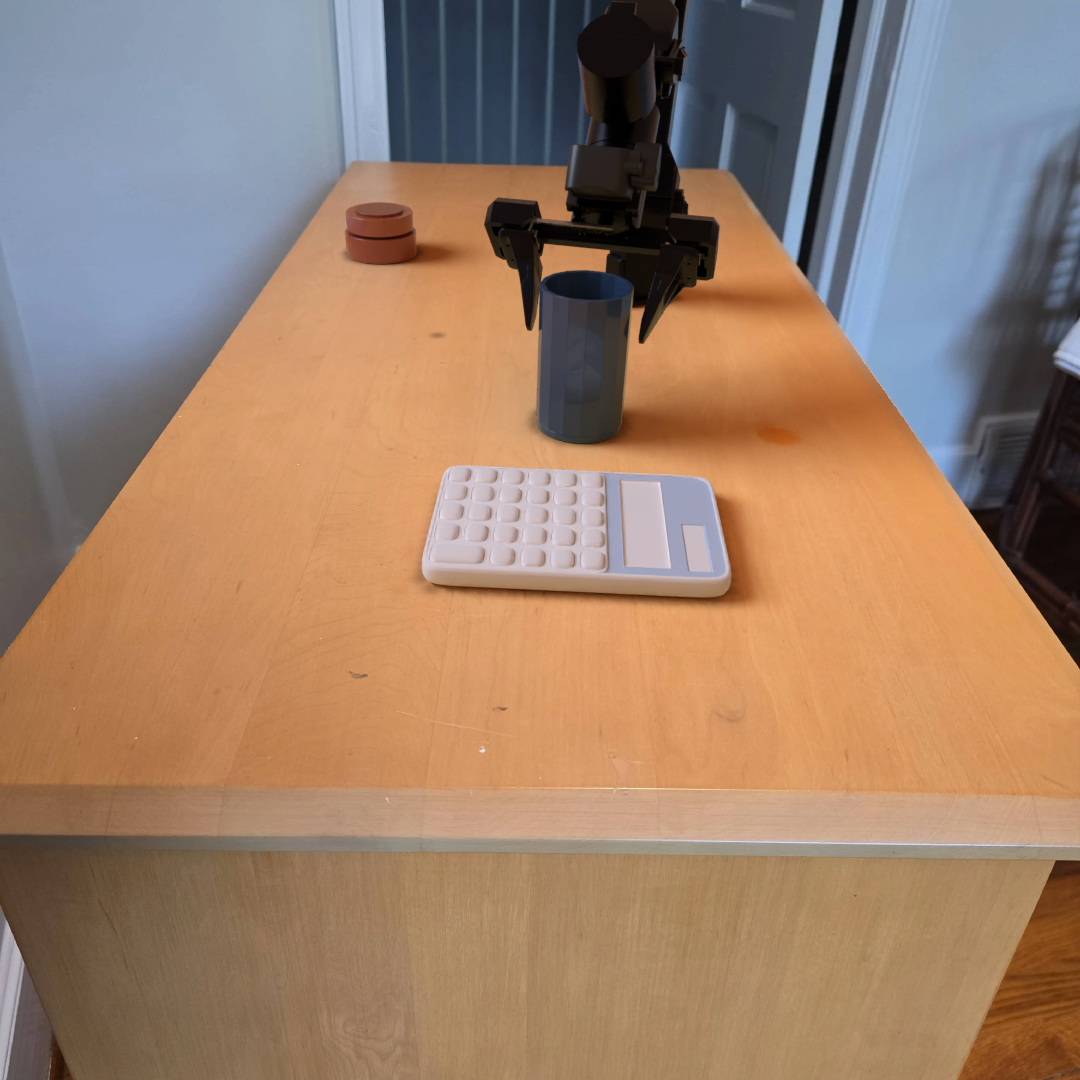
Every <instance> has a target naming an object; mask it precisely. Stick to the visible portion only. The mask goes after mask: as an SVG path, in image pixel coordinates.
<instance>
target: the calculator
mask: <svg viewBox="0 0 1080 1080" xmlns="http://www.w3.org/2000/svg"><path fill="white" fill-rule="evenodd" d="M431 516H432V517H431V519H430V524H429V528H428V532H427V536H426V540H425V544H424V548H423V553H422V557H421V572H422V575H423V576H424V578H425V580H426V581H427V582H429V583H432V584H435V585H440V586H452V587H469V588H470V587H471V588H489V589H492V588H494V589H513V590H530V591H531V590H532V591H533V590H534V591H556V592H575V593H592V594H593V593H595V594H596V593H597V594H617V595H640V596H659V597H679V598H680V597H681V598H682V597H683V598H707V599H708V598H717V597H720V596H723V595H725V594H726V592H728V590H729V589H730V587H731V582H732V566H731V563H730V562H731V561H730V558H729V552H728V548H727V543H726V539H725V535H724V529H723V525H722V521H721V516H720V512H719V507H718V503H717V497H716V493H715V489H714V487H713V484H712V483H711V481H709V479H707V478H706V477H703V476H696V475H687V474H684V475H683V474H667V473H666V474H665V473H664V474H663V473H643V472H642V473H641V472H624V471H623V472H621V471H601V470H600V471H598V470H579V469H557V468H556V469H555V468H536V467H535V468H533V467H513V466H489V465H488V466H487V465H465V464H464V465H463V464H462V465H452V466H449V467H448V468H446V469H445V470H444V472H443V474H442V477H441V480H440V484H439V488H438V491H437V497H436V501H435V503H434V508H433V512H432V515H431Z"/></svg>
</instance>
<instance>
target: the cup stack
mask: <svg viewBox="0 0 1080 1080" xmlns="http://www.w3.org/2000/svg"><path fill="white" fill-rule="evenodd" d="M413 214H414V213H413V209H412V208H411V207H410V206H407V205H405V204H400V203H394V202H381V201H378V202H377V201H374V202H366V203H359V204H356V205H355V204H354V205H352V206H349V207H348V208H347V209H346V210H345V221H346V228H345V230H344V239H345V249H346V251H345V252H346V255H347V257H348V258H349V259H351V260H353V261H355V262H359V263H363V264H370V265H371V264H372V265H390V264H397V263H402V262H406V261H409V260H412V259H413V258H414V257H416V256H417V254H418V249H417V248H418V247H417V246H418V245H417V229H416V227H414V215H413Z"/></svg>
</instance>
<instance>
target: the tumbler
mask: <svg viewBox="0 0 1080 1080" xmlns="http://www.w3.org/2000/svg"><path fill="white" fill-rule="evenodd" d="M633 293H634V286H633V285H632V284H631V282H630V281H629V280H627V279H625V278H622V277H620V276H618V275H614V274H610V273H606V271H601V270H600V271H598V270H588V269H581V270H579V269H576V270H575V269H574V270H573V269H572V270H565V271H559V272H553V273H551V274H549V275H547V276H545V277H543V278H542V279H541V283H540V292H539V300H538V336H537V339H538V340H537V369H536V370H537V371H536V374H537V375H536V405H535V407H536V409H535V416H536V425H537V427H538V429H539V430H540V431H541V432H542V433H543V434H545V435H546V436H547V437H550V438H552V439H553V440H557V441H559V442H565V443H571V444H594V443H595V444H596V443H600V442H604V441H607V440H609V439H612V438H614V437H615V436H617V435H618V433H620V431H621V429H622V423H623V418H624V407H625V396H626V383H627V372H628V363H629V361H628V360H629V351H630V337H631V328H632V327H631V326H632V316H633V315H632V314H633V306H632V305H633Z"/></svg>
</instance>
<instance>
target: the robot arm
mask: <svg viewBox="0 0 1080 1080" xmlns="http://www.w3.org/2000/svg"><path fill="white" fill-rule="evenodd" d="M690 3H691V0H611V1H610V4H609V5H608V6H607V7H606V9H605V11H604V14H601V15H600V16H597V17H596V18H594V19H593V20H592V21H590V22H589V23H587V25H586V26H585V27H584V28H583V29H582V31H581V33H579V35H578V36H577V40H576V56H577V63H578V64H577V65H578V70H579V77H580V83H581V91H582V97H583V103H584V108H585V111H586V114H587V115H588V116H589V117H590V119H589V124H588V128H587V129H588V130H587V134H586V140H585V144H578V143H577V144H571V145H569V151H568V156H567V157H568V159H567V167H566V174H565V180H564V181H565V182H564V190H565V192H567V193H566V194H567V195H566V199H565V206H566V211H567V212H570V213H571V215H570V220H561V219H550V218H543V216H542V214H541V213H542V212H541V209H540V206H539V202H538V200H532V199H531V200H530V199H520V198H510V197H509V198H508V197H496V198H495V199H494V200H493V201H492V202H491V203H490V204H489V205H488V206H487V209H486V214H485V218H484V223H483V226H484V229H485V231H486V234H487V236H488V239H489V242H490V245H491V247H492V250H493V252H494V255H495V257H496V258H498V259H500V260H503V261H506V264H507V266H508V268H510V269H512V270H517V272H518V276H519V277H518V278H519V284H520V292H521V300H522V301H521V302H522V309H523V316H524V325H525V328H526V330H527V331H528V332H532V331H533V329H534V326H535V322H536V319H537V315H538V308H539V298H540V283H541V281H542V279H543V278H542V277H543V269H544V267H543V263H542V259H541V257H542V256H543V253H544V248H545V245H550V246H551V245H552V246H562V247H572V248H581V249H592V250H601V251H609V253H607V254H606V259H605V260H606V261H605V272H606V273H610V274H614V275H618V276H620V277H622V278H625V279H627V280H629V281H630V282H631V284H632V285H633V286H634V293H633V305H632V307H635V306H640V305H641V306H642V305H645V306H644V309H643V312H642V316H641V320H640V326H639V331H638V344H640V345H644V344H645V343H646V341H647V339H648V338H649V337H650V335H651V333H652V332H653V330H654V328H655V327H656V325H657V324H658V322H659V321H660V319H661V318H662V315H664V313H665V311H666V310H667V308H668V307H669V306H670V305H671V304H672V302H673V301H674V300H675V299H676V298H677V297H678V295H679V294H680V293H681V292H682V291H683V289H686V288H687V289H691V288H693V289H694V288H695V287H696V286H697V284H698V281H703V282H704V281H706V282H707V281H710V280H713V279H714V277H715V273H716V265H717V261H718V252H719V240H720V231H721V229H720V228H721V226H720V224H719V222H718V221H717V220H716V218H715V217H714V216H707V215H697V214H689V202H687V200H686V196H685V188H680V184H681V174H680V171H679V168H678V165H677V162H676V159H675V157H674V155H673V153H672V150H671V142H672V135H673V127H674V119H675V113H676V105H677V98H678V90H679V84H680V83H681V82H682V80H683V75H685V74H686V73H687V71H688V68H689V60H690V59H689V58H690V57H689V56H690V55H689V54H688V53H687V51H686V49H687V48H686V46H685V38H686V33H687V24H688V17H689V9H690Z"/></svg>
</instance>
